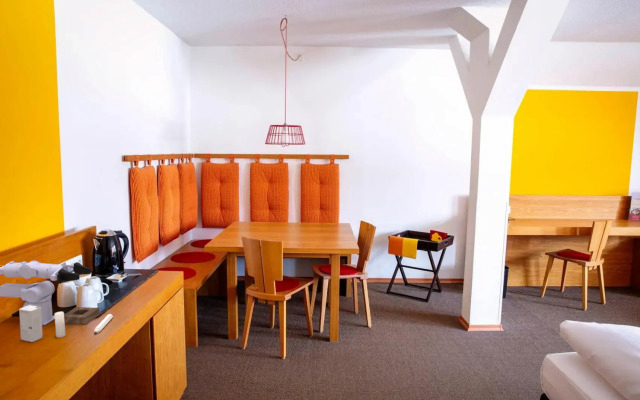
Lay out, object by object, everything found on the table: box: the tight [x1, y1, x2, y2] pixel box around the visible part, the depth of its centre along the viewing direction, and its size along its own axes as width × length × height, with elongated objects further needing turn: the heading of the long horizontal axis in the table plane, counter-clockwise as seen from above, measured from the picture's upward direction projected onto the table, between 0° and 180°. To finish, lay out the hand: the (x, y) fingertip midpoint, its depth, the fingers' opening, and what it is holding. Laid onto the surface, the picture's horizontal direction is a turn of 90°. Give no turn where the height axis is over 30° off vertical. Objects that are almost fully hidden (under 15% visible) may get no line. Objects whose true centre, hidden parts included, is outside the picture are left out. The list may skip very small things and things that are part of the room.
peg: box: [53, 311, 66, 338], centre depth 162 cm, size 3×3×9 cm
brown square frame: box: [64, 306, 100, 326], centre depth 177 cm, size 10×10×3 cm
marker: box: [93, 313, 114, 335], centre depth 171 cm, size 3×2×16 cm
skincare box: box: [18, 305, 43, 343], centre depth 159 cm, size 6×4×12 cm
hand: (85, 274), depth 171 cm, fingers open, 7 cm apart
